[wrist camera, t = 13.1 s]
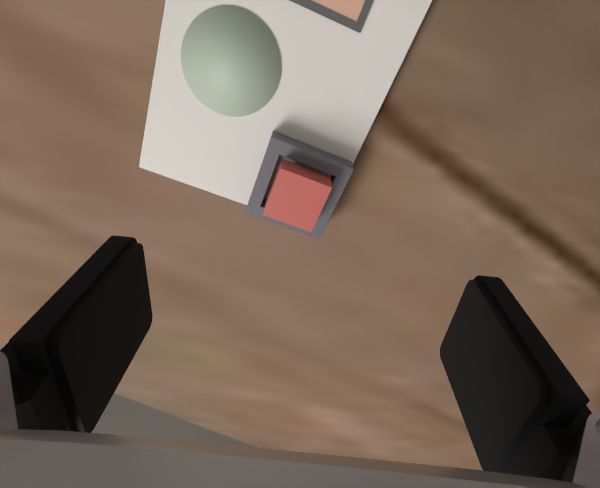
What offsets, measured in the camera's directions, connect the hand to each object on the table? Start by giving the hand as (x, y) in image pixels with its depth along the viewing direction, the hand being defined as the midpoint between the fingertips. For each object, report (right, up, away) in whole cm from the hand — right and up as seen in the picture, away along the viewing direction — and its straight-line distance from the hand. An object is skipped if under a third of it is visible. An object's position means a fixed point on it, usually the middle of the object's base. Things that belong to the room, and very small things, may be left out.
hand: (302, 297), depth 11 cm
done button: (0, +6, +18) cm, 19 cm away
